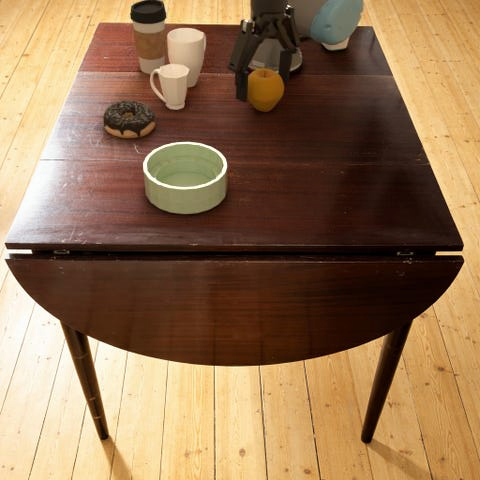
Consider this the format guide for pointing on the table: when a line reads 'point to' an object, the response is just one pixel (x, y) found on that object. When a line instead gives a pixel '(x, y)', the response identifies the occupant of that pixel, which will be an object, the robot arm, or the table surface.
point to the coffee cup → (149, 33)
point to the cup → (172, 84)
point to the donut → (129, 119)
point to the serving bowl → (185, 177)
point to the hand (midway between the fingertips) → (262, 90)
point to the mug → (187, 50)
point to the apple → (264, 89)
